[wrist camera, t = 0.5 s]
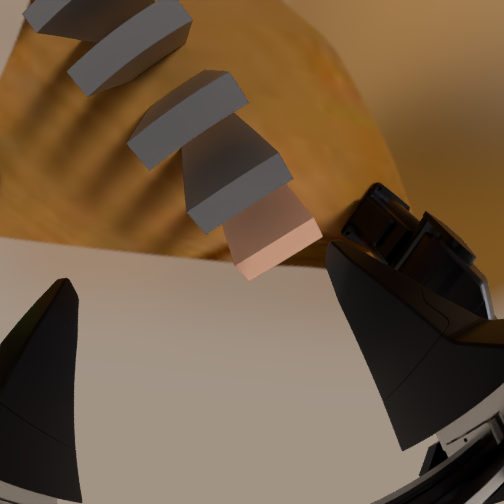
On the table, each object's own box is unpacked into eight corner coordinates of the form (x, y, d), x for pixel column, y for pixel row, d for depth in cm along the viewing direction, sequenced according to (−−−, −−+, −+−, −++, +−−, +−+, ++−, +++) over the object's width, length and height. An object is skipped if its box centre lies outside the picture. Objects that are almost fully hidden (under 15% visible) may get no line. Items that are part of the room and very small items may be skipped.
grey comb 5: (155, 4, 11) (138, -46, 4) (99, 44, 12) (36, 32, 5) (145, -9, 10) (121, -64, 3) (89, 31, 11) (22, 13, 4)
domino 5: (268, 167, 21) (322, 236, 14) (220, 197, 22) (249, 281, 14) (259, 153, 20) (313, 217, 13) (210, 185, 21) (234, 265, 14)
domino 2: (185, 43, 14) (192, 20, 7) (129, 82, 14) (87, 97, 7) (174, 28, 13) (171, -8, 6) (118, 67, 13) (66, 71, 6)
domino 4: (243, 128, 19) (293, 179, 11) (192, 161, 19) (206, 234, 12) (233, 112, 18) (278, 152, 10) (181, 147, 18) (186, 212, 11)
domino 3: (215, 85, 16) (249, 102, 9) (161, 122, 17) (149, 170, 10) (204, 69, 15) (229, 71, 8) (149, 107, 16) (126, 143, 9)
